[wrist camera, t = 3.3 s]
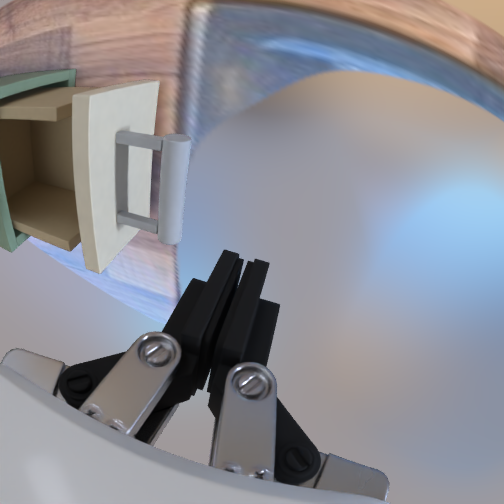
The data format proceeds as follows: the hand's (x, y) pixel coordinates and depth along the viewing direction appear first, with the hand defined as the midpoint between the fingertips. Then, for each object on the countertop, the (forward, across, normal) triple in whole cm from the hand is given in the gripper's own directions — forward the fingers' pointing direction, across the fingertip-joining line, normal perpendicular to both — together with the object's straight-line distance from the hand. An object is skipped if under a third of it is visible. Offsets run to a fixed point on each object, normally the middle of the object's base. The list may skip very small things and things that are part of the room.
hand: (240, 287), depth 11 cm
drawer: (+9, +13, 0) cm, 16 cm away
